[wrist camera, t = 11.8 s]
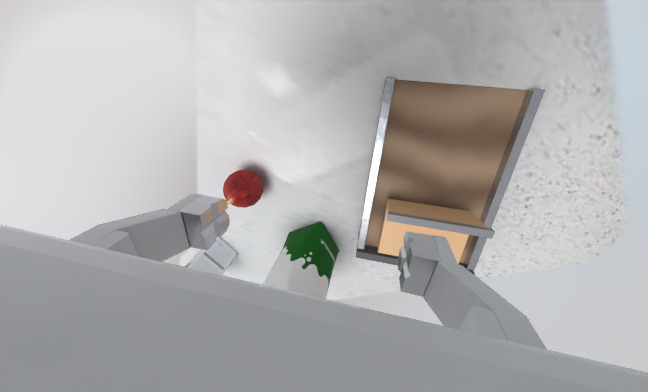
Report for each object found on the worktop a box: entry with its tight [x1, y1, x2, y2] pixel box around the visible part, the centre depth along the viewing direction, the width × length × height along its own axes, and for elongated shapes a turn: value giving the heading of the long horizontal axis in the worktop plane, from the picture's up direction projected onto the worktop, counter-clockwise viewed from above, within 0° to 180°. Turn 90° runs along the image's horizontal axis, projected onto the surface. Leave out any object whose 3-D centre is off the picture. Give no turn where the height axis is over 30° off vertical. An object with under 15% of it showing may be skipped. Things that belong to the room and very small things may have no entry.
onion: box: [223, 170, 263, 207], centre depth 36 cm, size 6×6×8 cm
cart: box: [378, 199, 495, 264], centre depth 31 cm, size 9×12×7 cm
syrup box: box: [185, 236, 237, 275], centre depth 43 cm, size 6×6×14 cm
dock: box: [356, 77, 545, 275], centre depth 32 cm, size 25×17×6 cm
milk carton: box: [263, 222, 339, 299], centre depth 35 cm, size 9×9×20 cm
